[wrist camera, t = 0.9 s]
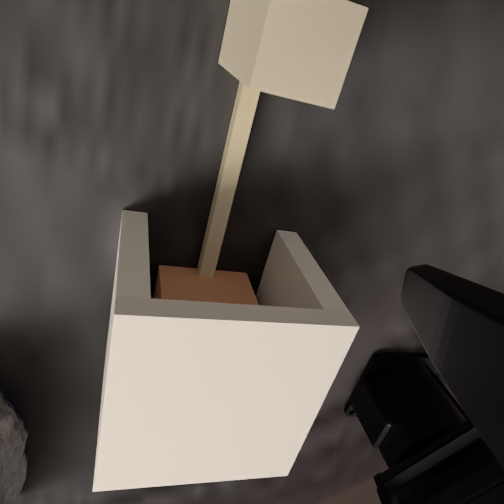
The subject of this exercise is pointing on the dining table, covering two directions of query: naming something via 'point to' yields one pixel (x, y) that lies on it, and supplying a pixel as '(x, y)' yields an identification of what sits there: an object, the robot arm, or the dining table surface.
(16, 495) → the decorative stone
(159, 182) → the dining table surface
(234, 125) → the cream and brown mallet
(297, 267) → the white open box
